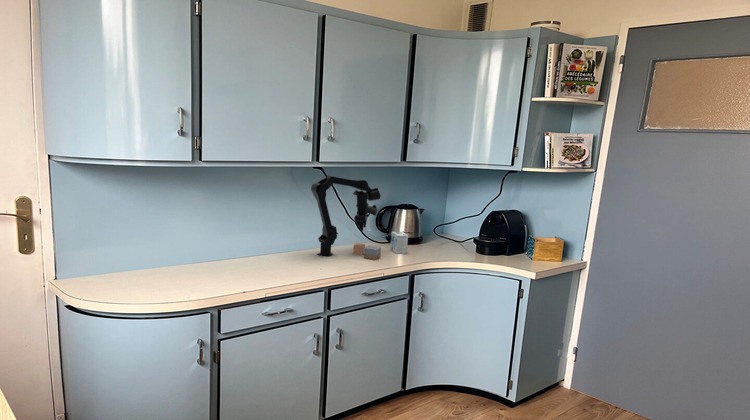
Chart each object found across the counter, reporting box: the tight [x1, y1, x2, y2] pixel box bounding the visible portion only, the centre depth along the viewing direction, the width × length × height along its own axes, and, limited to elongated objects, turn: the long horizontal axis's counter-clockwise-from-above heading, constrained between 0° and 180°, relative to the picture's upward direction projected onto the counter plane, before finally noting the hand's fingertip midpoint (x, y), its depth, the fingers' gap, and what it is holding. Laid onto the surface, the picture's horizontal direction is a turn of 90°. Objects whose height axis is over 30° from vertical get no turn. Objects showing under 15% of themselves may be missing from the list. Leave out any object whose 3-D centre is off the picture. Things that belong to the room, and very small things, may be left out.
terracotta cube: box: [352, 242, 366, 255], centre depth 277 cm, size 5×5×5 cm
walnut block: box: [363, 252, 382, 261], centre depth 268 cm, size 7×7×3 cm
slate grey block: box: [363, 245, 382, 255], centre depth 267 cm, size 7×7×3 cm
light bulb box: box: [389, 231, 409, 255], centre depth 285 cm, size 11×7×11 cm, turn 17°
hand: (363, 229), depth 278 cm, fingers open, 9 cm apart
